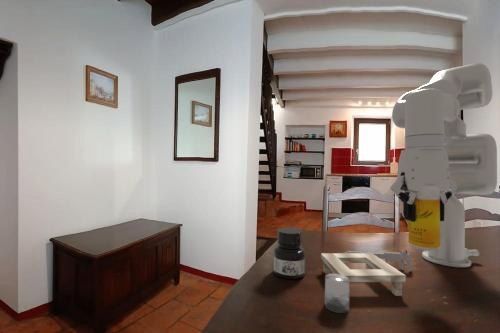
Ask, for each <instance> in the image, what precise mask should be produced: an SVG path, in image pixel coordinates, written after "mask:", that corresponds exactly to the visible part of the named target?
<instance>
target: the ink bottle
mask: <svg viewBox="0 0 500 333" xmlns="http://www.w3.org/2000/svg"><path fill="white" fill-rule="evenodd" d="M277 243H278V244H277V245H276V247H274V249H273V273H274V274H275V275H276V276H277V277H280V278H281V279H288V280H289V279H290V280H298V279H301V278H304V276H305V274H306V258H307V257H306V249H305V248H304V247H302V243H303V232H302V230H301V229H299V228H293V227H282V228H279V229H277Z"/></svg>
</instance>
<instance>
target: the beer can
mask: <svg viewBox="0 0 500 333" xmlns="http://www.w3.org/2000/svg"><path fill="white" fill-rule="evenodd" d="M409 194H410V193H409ZM413 204H415V205H416V221H415V222H412V221H409V220H408V243H409V244H410V246H411V247H412V248H414V249H415V250H421V251H423V252H424V251H436V250H437V249H438V248H439V247H440V189H439V188H438V187H437V185H424V187H423V188H422V189H421V190H420V191H419V192H416V197H415V199H414V202H413Z"/></svg>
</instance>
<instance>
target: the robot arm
mask: <svg viewBox="0 0 500 333" xmlns="http://www.w3.org/2000/svg"><path fill="white" fill-rule="evenodd" d="M492 98H493V85H492V76H491V73H490V70H489V68H488V66H487V65H486V64H484V63H480V62H475V63H470V64H465V65H462V66H456V67H451V68H447V69H444V70H441V71H438V72H436V73H435V74H434V75H433V76H432V77H431V78H430V79H429V80H428V83H427V84H424V85H422V86H420V87H418V88H415V89H413V90H411V91H409V92H406V93H405V94H403V95H401V96H399V99H398V100H396V102H395V104H394V105H393V107H392V108H393V109H392V113H391V119H392V123H394V126H396V127H397V128H399V129H404V149H402V150H401V151H400V155H399V159H398V165H397V166H398V167H397V176H396V180H395V181H394V183H393V184H392V185H391V186H390V190H391V192H393V194H394V195H395V196H396V197H397V198H398V199H399V200H400V202H401V203H403V204H402V205H403V206H402V207H403V208H402V209H403V210H402V211H403V219H404V220H406V221H408V222H409V221H412V222H415V221H416V205H415V204H413V202H414V199H415V197H416V192H419V191H420V190H421V189H422V188H423V187H424V185H437V187H438V188H439V189H440V247H439V248H438V249H437V250H436V251H424V250H423V251H422V252H421V256H422V258H423V259H425V260H427V261H428V262H431V263H433V264H438V265H441V266H444V267H445V266H447V267H453V268H469V267H471V266H472V260H470V258H469V257H478V256H480V252H479V250H478V249H468V248H466V247H465V246H466V244H465V243H466V242H465V238H466V236H465V234H466V230H465V229H466V225H465V224H466V221H465V220H466V210H465V209H466V208H465V206H464V204H463V203H462V201H461V200H460V199H458V197H456V196H455V194H457V195H459V194H460V195H461V194H463V195H464V194H465V195H477V196H478V195H480V196H481V195H482V196H484V195H487V196H488V195H491V194H493V193H494V192H495V191H496V189H497V187H498V186H497V185H498V148H497V142H496V139H495V137H494V136H493V135H491V134H489V133H469V134H468V133H467V125H466V123H465V121H463V120H462V119H461V118H460V117H459V115H460V113H461V111H463V110H470V109H471V110H472V109H478V108H484V107H485V106H488V105H489V104H490V103H491V101H492ZM466 133H467V134H466ZM409 193H410V194H409Z"/></svg>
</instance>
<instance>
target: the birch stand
mask: <svg viewBox="0 0 500 333" xmlns="http://www.w3.org/2000/svg"><path fill="white" fill-rule="evenodd" d="M372 253H373V252H371V253H345V252H342V253H341V252H337V253H334V252H333V253H332V252H331V253H329V252H328V253H325V252H323V253H322V252H321V253H320V259H321V260H322V263H323V264H322V265H323V266H322V267H323V268H322V269H323V270H322V271H323V273H324V274H325V275H327V274H331V272H332V274H341V275H344V276H346V277H347V278H349V280H350V283H391V293H392V294H393V295H394V296H395V297H402V296H403V283H405V282H406V280H407V279H406V277H407V275H406V274H405V273H403V272H401V271H399V269H397V268H396V267H393V266H392V265H390V264H389V263H387V262H386V261H384V259H380V258H378V257H377V256H375V255H374V254H372ZM347 264H365V269H361V268H360V269H351V268H350V267H348V266H347Z"/></svg>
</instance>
